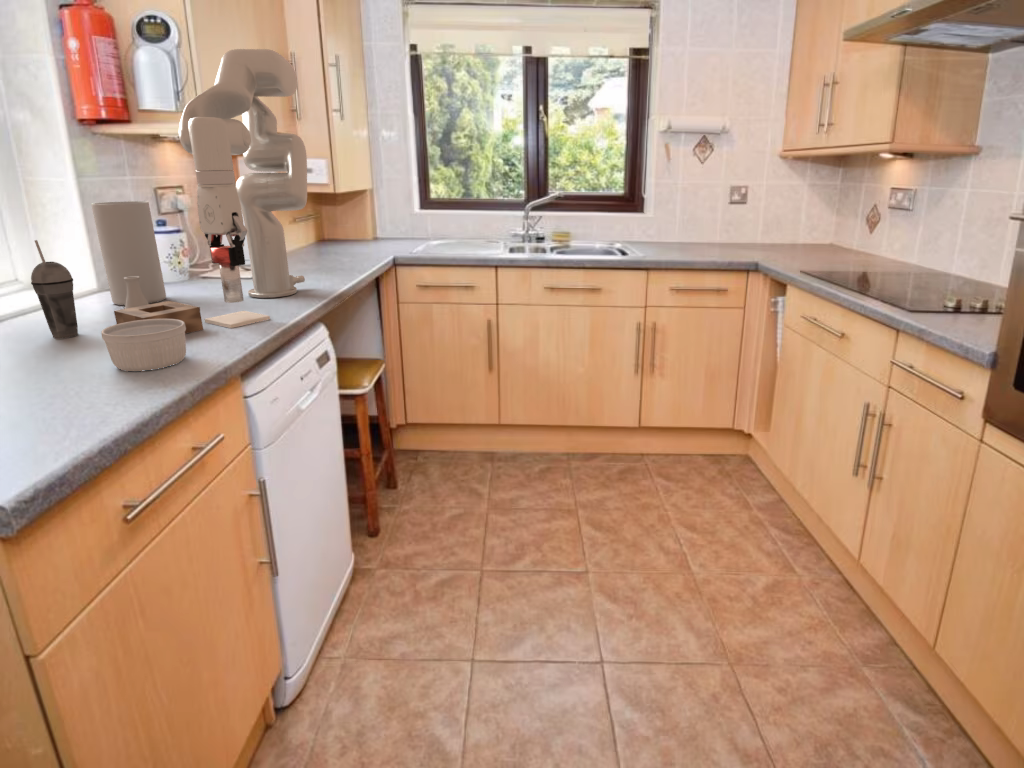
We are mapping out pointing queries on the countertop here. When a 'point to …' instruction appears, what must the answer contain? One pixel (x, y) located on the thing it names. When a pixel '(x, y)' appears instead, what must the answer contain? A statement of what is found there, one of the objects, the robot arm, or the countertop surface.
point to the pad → (237, 319)
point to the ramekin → (146, 343)
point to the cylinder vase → (129, 248)
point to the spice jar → (228, 274)
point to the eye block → (163, 314)
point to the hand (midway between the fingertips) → (228, 263)
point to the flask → (134, 293)
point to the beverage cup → (55, 297)
